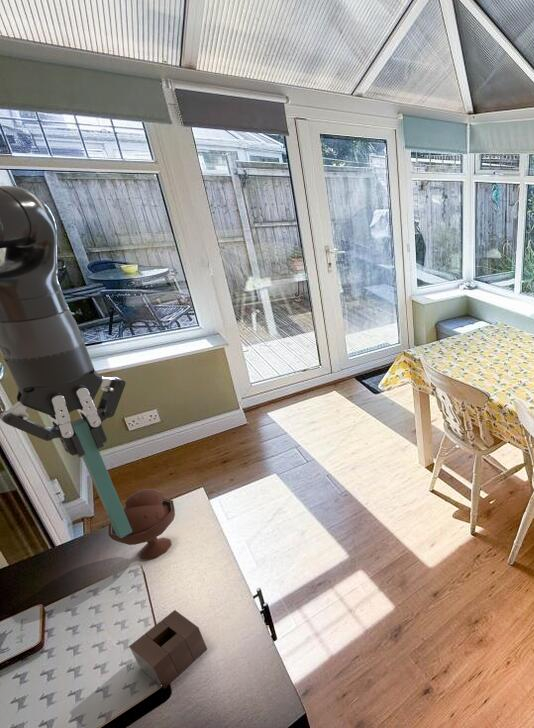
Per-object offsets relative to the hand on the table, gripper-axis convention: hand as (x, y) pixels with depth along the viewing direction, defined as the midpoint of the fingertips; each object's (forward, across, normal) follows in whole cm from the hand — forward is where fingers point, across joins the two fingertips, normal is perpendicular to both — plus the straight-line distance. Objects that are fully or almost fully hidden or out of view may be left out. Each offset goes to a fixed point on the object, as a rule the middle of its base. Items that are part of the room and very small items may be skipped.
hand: (88, 450), depth 62 cm
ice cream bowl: (+39, -8, -17) cm, 43 cm away
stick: (+17, 0, 0) cm, 17 cm away
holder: (+38, +3, +10) cm, 40 cm away
